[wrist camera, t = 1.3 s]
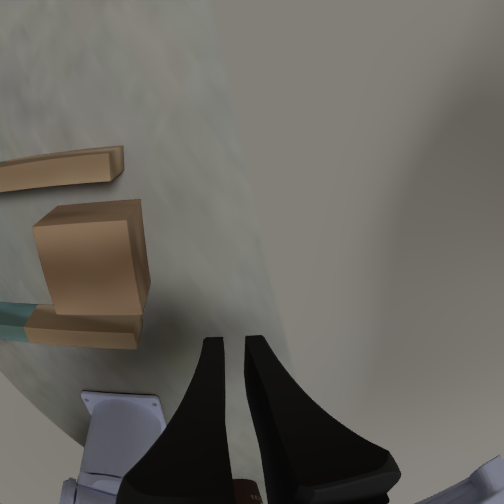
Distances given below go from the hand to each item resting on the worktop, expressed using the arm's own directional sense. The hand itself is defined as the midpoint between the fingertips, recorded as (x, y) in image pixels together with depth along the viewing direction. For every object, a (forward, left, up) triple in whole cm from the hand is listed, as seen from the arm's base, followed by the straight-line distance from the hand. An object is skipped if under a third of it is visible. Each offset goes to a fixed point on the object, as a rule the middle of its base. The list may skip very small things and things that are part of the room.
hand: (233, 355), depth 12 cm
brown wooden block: (0, +8, -11) cm, 13 cm away
